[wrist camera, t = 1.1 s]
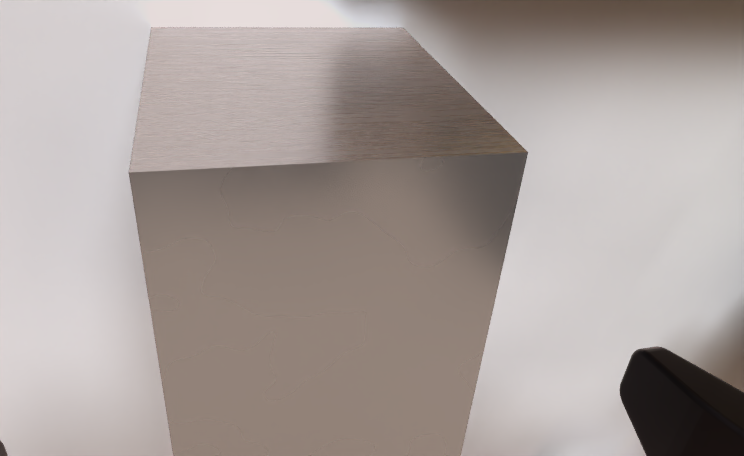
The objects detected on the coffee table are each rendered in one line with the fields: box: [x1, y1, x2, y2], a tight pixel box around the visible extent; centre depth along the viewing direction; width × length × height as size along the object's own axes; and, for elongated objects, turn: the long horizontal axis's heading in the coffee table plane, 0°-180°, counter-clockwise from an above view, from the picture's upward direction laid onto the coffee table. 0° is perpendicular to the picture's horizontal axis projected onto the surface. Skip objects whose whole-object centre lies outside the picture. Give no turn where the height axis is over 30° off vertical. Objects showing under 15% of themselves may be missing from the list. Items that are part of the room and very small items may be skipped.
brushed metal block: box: [129, 27, 528, 456], centre depth 12 cm, size 5×7×6 cm
